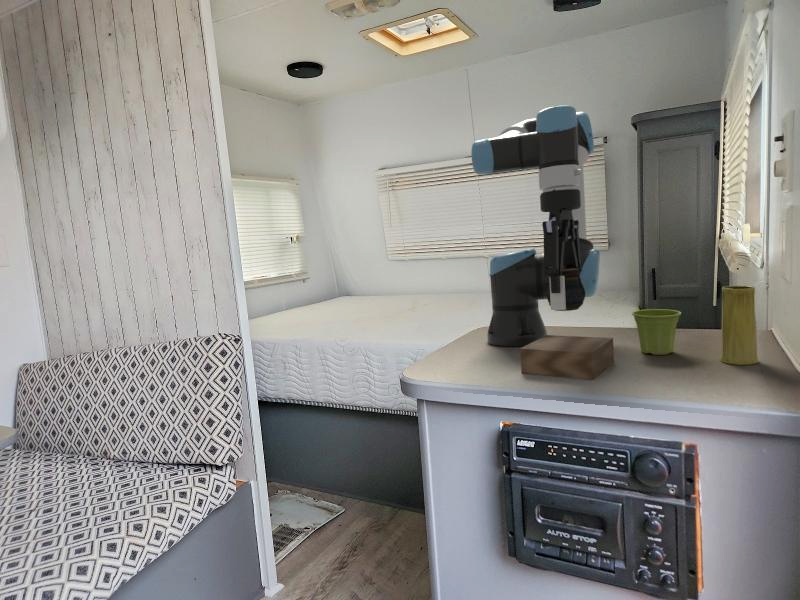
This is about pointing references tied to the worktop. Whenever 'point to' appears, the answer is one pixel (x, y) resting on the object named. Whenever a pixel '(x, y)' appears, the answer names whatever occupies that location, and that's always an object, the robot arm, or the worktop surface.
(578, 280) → the mate gourd
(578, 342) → the walnut block
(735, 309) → the vase
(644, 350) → the plant pot
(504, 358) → the worktop surface
